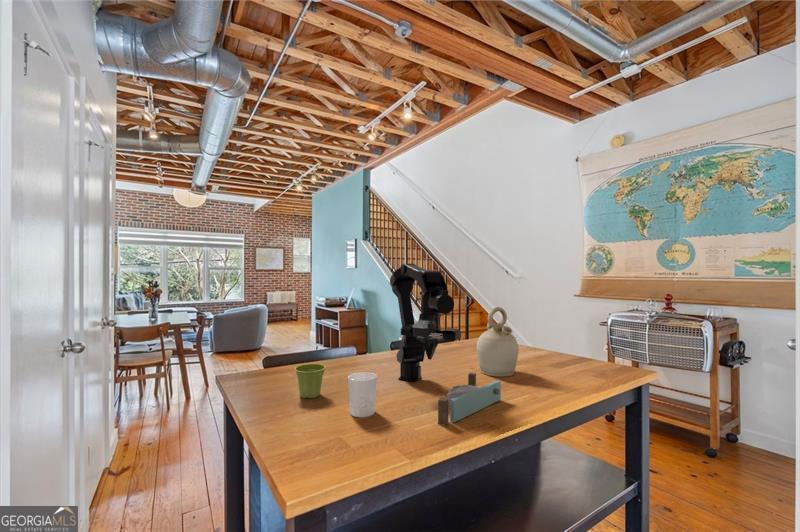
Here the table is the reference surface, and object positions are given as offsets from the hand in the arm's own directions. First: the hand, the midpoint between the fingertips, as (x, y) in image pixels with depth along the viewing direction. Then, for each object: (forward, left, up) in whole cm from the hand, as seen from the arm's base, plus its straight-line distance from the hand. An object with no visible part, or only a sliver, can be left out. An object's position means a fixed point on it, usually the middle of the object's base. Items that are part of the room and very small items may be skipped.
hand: (429, 359), depth 115 cm
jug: (+14, +34, -11) cm, 38 cm away
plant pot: (-32, -19, -11) cm, 39 cm away
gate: (+18, -7, -11) cm, 22 cm away
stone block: (+12, -1, -11) cm, 16 cm away
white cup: (-10, -23, -11) cm, 28 cm away
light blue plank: (+12, -6, -11) cm, 17 cm away
